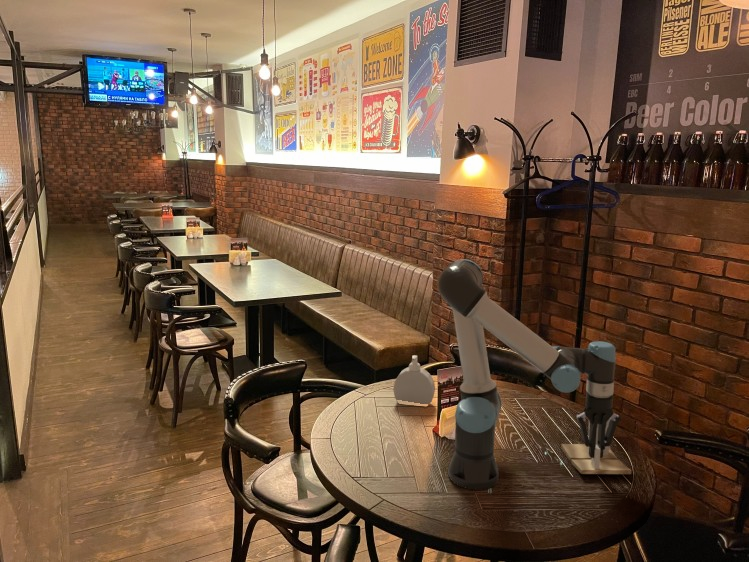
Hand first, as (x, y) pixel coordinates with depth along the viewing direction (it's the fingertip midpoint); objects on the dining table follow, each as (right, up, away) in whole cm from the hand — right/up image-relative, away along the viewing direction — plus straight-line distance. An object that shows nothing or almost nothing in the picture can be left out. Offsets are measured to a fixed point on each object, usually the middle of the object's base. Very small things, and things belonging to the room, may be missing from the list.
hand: (595, 466), depth 171 cm
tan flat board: (+3, 0, +13) cm, 13 cm away
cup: (+6, 0, +12) cm, 14 cm away
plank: (+3, -1, +3) cm, 4 cm away
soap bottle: (-52, +8, +52) cm, 73 cm away
